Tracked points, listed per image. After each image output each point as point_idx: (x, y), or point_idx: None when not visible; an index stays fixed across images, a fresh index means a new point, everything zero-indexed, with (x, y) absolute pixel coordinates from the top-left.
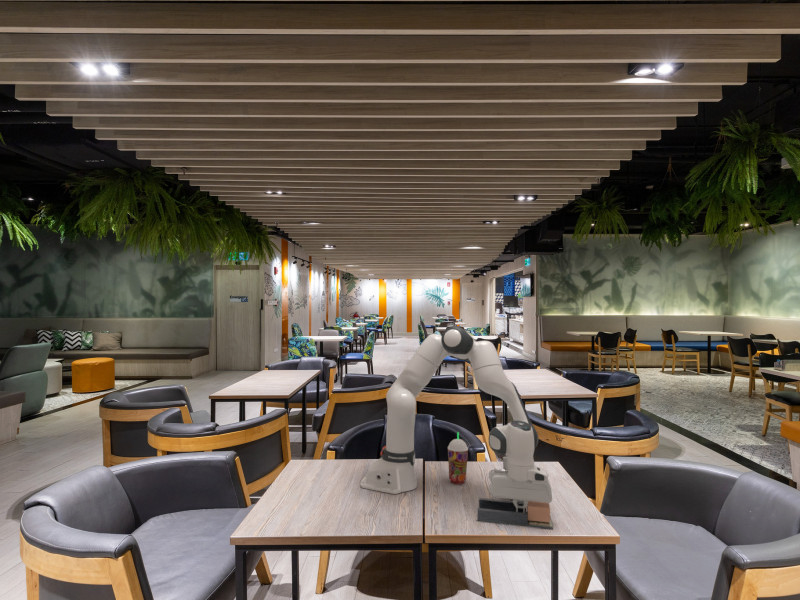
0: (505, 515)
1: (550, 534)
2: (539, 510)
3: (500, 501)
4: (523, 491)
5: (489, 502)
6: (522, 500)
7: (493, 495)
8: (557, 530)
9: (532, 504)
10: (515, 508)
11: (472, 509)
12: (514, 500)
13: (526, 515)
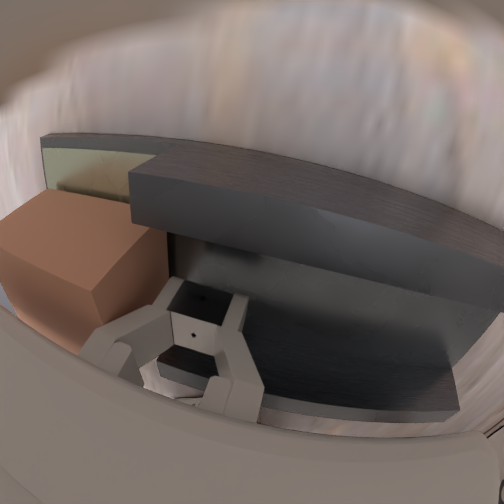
0: (402, 220)
1: (62, 65)
2: (34, 241)
3: (342, 409)
4: (58, 477)
5: (410, 400)
6: (199, 400)
7: (482, 448)
8: (35, 132)
9: (71, 318)
10: None
11: (472, 359)
12: (238, 405)
13: (138, 173)
